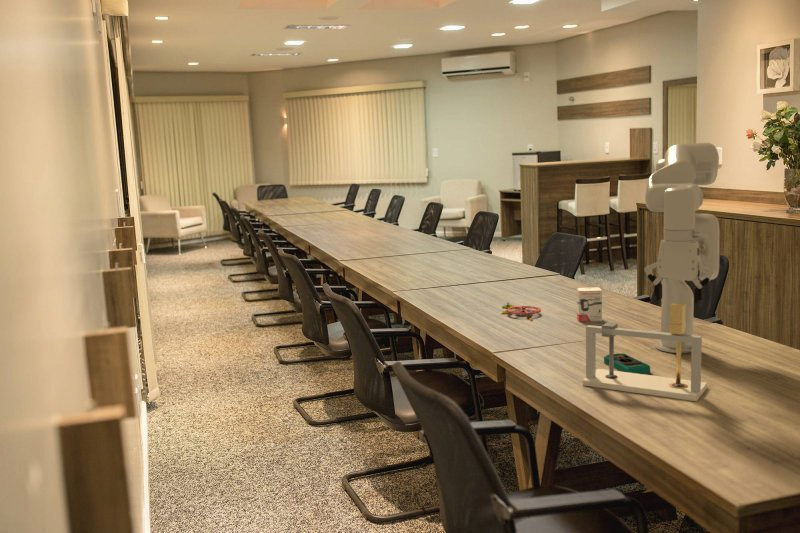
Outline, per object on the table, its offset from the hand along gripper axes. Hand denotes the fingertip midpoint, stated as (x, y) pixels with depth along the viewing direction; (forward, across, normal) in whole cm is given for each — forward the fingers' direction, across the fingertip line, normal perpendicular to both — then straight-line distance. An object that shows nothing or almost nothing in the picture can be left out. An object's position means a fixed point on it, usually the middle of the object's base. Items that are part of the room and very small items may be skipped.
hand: (678, 300), depth 205 cm
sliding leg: (+22, 0, +1) cm, 22 cm away
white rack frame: (+25, +9, 0) cm, 26 cm away
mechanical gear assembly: (+28, +77, -70) cm, 108 cm away
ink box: (+27, +49, -68) cm, 88 cm away
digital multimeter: (+26, +18, -16) cm, 35 cm away
